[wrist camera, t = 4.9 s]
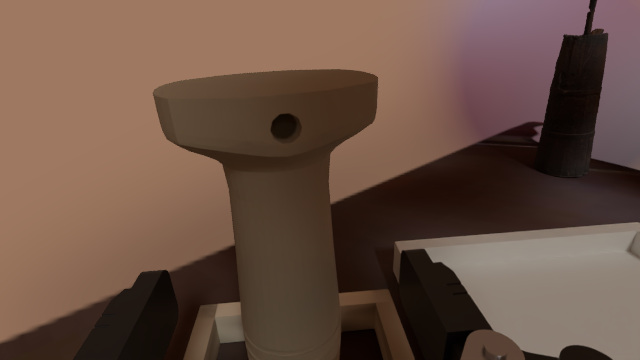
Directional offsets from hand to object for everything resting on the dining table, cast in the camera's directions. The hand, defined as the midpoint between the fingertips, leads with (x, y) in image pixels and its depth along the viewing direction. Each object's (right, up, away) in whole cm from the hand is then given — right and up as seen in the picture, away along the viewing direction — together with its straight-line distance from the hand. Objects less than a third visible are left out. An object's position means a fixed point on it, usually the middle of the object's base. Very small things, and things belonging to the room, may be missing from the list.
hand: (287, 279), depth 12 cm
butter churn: (+30, +5, +29) cm, 42 cm away
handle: (0, -7, +5) cm, 9 cm away
